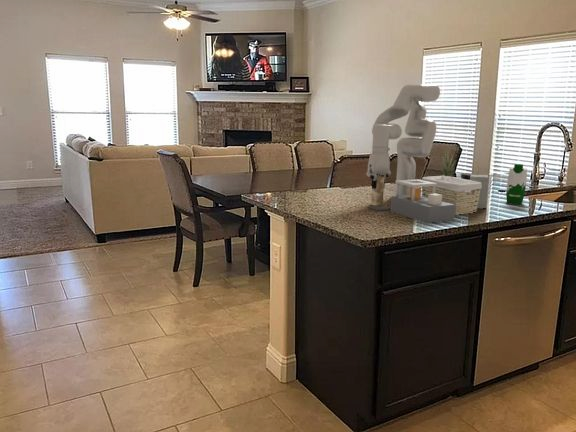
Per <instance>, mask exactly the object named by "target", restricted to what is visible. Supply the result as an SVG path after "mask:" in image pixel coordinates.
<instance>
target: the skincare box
mask: <svg viewBox="0 0 576 432" xmlns="http://www.w3.org/2000/svg"><path fill="white" fill-rule="evenodd" d="M470 180H471V181H476V182H480V183H481V185H482V188H481V189H480V195H479V200H478V205H477V209H483V208H486V209H487V200H488V184H489V175H488V174H479V175H470Z"/></svg>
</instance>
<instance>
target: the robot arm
mask: <svg viewBox="0 0 576 432" xmlns="http://www.w3.org/2000/svg"><path fill="white" fill-rule="evenodd" d="M440 95H441V89H440V87H439V85H438V84H436V83H435V84H434V83H426V84H425V83H422V84H421V83H417V84H416V83H415V84H412V83H411V84H405V85H404V86H402V88H401V89H400V91H399V93H398V96H397V97H396V99H395V101H394V102H393V105H391V106H390V107H389V108H386V109H385V110H384V111H382V112H381V113H380V114H379V115H378V116H377V118H376V119H375V121H374V123H373V126H372V128H371V134H372V146H371V149H372V150H371V152H370V154H369V158H368V161H367V171H366V173H365V175H366V176H367V177H368V178H369V179H370V180H371V189H372V188H373V189H376V185H377V181H376V177H377V176H378V175H380V176H382V177H384V187H385V186H386V185H385V184H386V180H387V179H388V178H389V176H390V175H391V174H392V172H391V170H390V169H391V166H390V164H391V162H390V153H389V152H390V150H391V148H390V147H389V142H390V141H389V140H397V139H399V138H400V139H399V140H398V141H397V143H396V153H397V154H396V155H397V166H396V167H397V168H396V180H395V181H397V180H415V179H416V171H417V170H416V169H417V164H416V161H415V159H414V158H415V157H416V158H426V157H428V156H429V155H430V154H431V151H432V147H433V144H434V142H435V141H434V140H435V136H436V134H437V133H436V132H437V123H436V121H435V120H433V119H431V118H430V119H429V118H427V117H426V115H427V108H426V106H425V105H424V104H423V102H424V103H425V102H426V103H427V102H436V101H437V100H439V97H440ZM407 115H408V118H407V120H406V124H405V127H404V133H405V135H406V137H402V138H401V135H402V132H403V130H402V127H401V126H400V125H399V124H397V123H391V122H392V121H396V120H398V119H402V118H403V117H406V116H407ZM407 136H408V137H407ZM396 185H397V183H395V186H396ZM410 187H411V186H407V185H403V184H399V196H404V195H410ZM392 196H396V193H393V194H392Z"/></svg>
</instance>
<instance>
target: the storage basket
mask: <svg viewBox="0 0 576 432" xmlns="http://www.w3.org/2000/svg"><path fill="white" fill-rule="evenodd" d="M421 180H424V181H429V182H433V183H437V186H436V187H435V193H436V194H440V195H442V201H443V202H447V203H451V204H455V215H454V216H459V214H462V215H466V214H465V213H470V214H474V213H473V212H475V213H476V212H478V208H477V205H478V200H479V195H480V189H481V188H482V185H481V183H480V182H476V181H471V180H466V179H461V177H455V176H452V177H449V176H443V175H435V176H423V177H421ZM432 189H433V186H423V187H421V196H423V197H427V198H428V194H432Z"/></svg>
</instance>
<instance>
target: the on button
mask: <svg viewBox="0 0 576 432" xmlns="http://www.w3.org/2000/svg"><path fill="white" fill-rule="evenodd" d="M441 203H442V195H440V194H436V193H435V194H428V204H432V205H440V204H441Z"/></svg>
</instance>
